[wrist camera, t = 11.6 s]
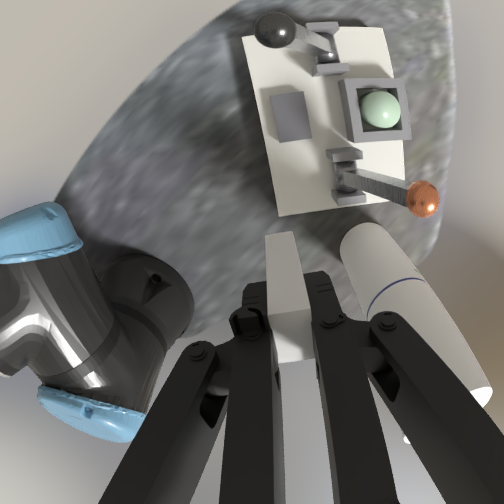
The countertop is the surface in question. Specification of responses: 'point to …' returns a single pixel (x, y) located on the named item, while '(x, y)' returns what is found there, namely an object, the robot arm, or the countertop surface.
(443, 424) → the robot arm
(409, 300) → the cylindrical container
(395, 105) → the button
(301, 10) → the countertop surface
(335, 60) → the lever
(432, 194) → the lever
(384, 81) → the panel
